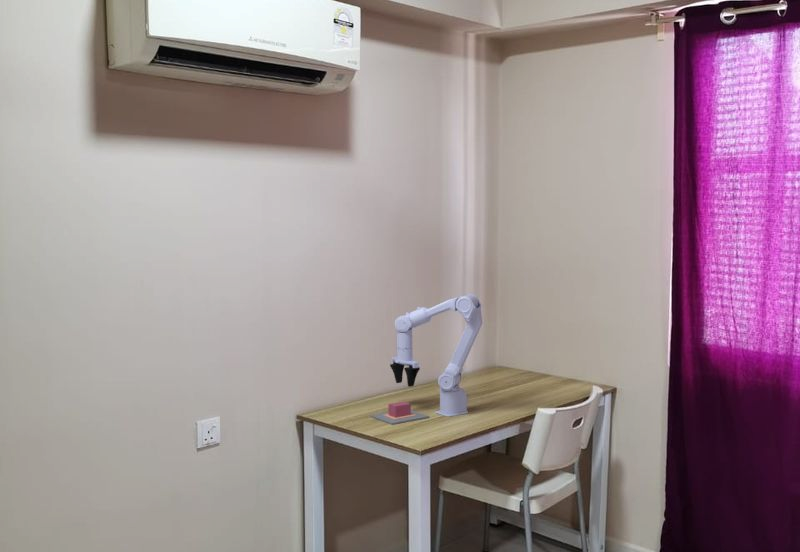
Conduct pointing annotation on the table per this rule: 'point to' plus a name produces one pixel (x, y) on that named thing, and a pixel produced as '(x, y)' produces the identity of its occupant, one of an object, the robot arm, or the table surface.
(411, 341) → the robot arm
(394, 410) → the pink rectangular block
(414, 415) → the mat
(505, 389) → the table surface
